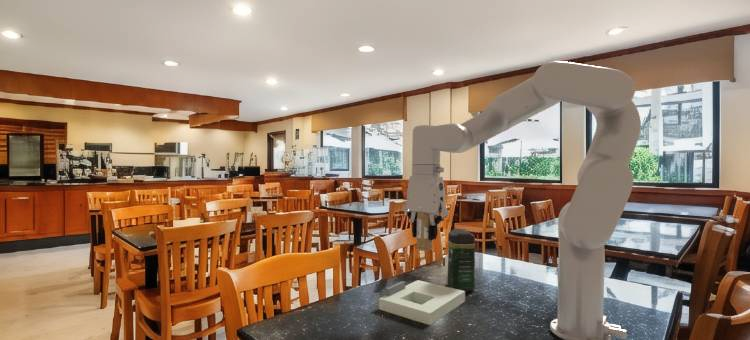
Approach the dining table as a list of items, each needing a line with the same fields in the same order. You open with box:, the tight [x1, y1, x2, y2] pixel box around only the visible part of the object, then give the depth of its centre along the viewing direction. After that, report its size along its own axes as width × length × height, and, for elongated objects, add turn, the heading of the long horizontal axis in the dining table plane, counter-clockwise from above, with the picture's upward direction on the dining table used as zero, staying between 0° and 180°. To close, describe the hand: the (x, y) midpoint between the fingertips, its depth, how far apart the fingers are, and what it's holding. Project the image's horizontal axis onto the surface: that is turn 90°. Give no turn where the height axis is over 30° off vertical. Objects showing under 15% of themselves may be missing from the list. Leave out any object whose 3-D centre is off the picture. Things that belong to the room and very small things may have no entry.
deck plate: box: [378, 279, 466, 326], centre depth 107 cm, size 16×20×5 cm
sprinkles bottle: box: [415, 206, 433, 252], centre depth 103 cm, size 5×5×13 cm
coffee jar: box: [447, 228, 476, 293], centre depth 121 cm, size 10×8×19 cm
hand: (424, 237), depth 104 cm, fingers closed on sprinkles bottle, 4 cm apart
